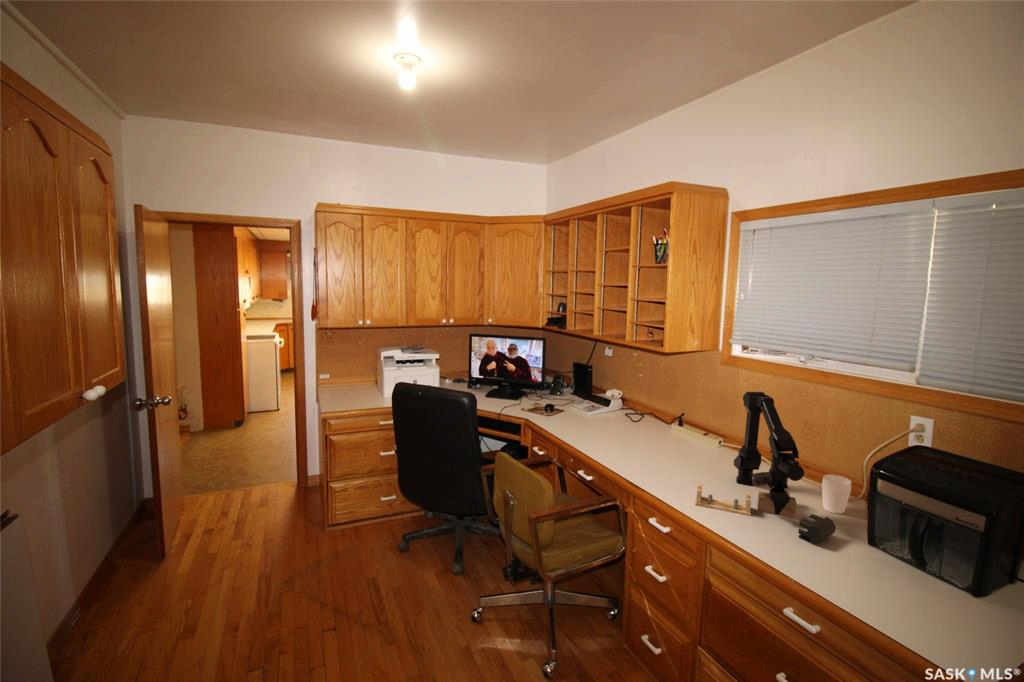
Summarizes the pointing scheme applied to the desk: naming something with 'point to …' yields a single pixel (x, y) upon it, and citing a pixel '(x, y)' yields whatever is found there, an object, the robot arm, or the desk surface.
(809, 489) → the desk surface
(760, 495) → the brown rectangular block
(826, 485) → the cup
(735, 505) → the peg frame
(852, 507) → the desk surface
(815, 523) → the end cap
